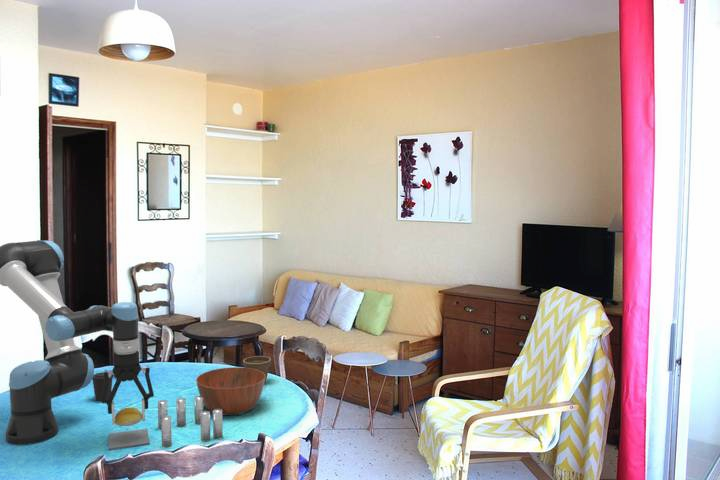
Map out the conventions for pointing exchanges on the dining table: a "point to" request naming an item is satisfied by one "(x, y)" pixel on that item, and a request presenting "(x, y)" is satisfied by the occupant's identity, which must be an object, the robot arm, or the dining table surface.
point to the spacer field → (200, 418)
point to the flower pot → (258, 364)
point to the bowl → (231, 389)
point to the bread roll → (128, 417)
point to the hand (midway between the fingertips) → (128, 420)
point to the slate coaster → (128, 439)
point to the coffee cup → (101, 385)
